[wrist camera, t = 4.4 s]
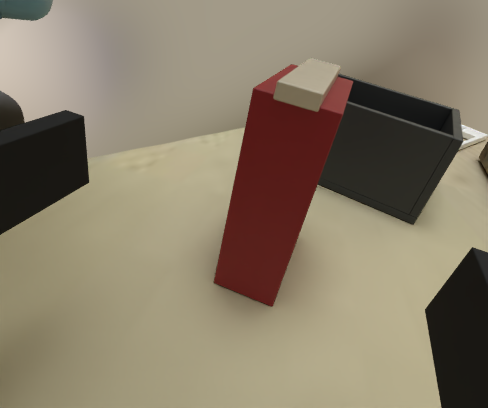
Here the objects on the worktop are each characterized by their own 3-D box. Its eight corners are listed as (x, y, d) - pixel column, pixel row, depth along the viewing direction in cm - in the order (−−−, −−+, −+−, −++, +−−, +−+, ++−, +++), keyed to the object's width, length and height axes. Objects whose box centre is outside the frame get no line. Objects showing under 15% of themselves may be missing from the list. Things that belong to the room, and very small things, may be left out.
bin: (271, 164, 37) (292, 84, 32) (310, 134, 47) (331, 71, 43) (413, 224, 32) (463, 141, 27) (422, 176, 42) (459, 110, 38)
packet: (212, 284, 21) (254, 73, 14) (252, 217, 28) (294, 53, 21) (271, 309, 20) (348, 100, 13) (297, 234, 27) (357, 70, 20)
